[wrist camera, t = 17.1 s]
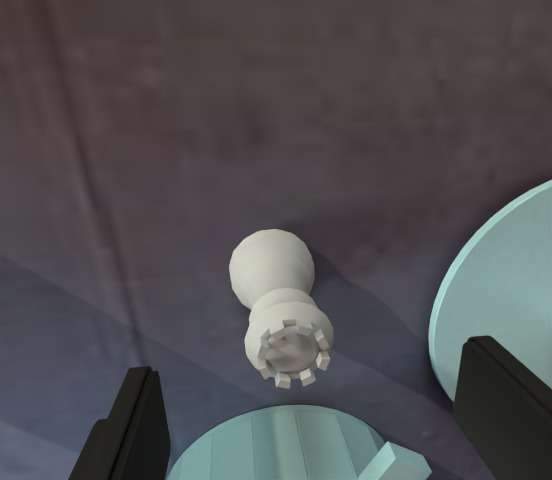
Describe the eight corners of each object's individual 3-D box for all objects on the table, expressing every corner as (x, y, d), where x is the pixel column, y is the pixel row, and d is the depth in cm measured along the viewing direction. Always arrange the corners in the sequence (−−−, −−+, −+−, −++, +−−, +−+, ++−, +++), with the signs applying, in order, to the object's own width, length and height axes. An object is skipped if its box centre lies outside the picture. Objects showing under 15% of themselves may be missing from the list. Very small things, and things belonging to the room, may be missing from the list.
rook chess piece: (214, 282, 20) (204, 386, 12) (253, 211, 19) (267, 277, 11) (286, 313, 21) (316, 426, 13) (326, 248, 20) (383, 330, 12)
